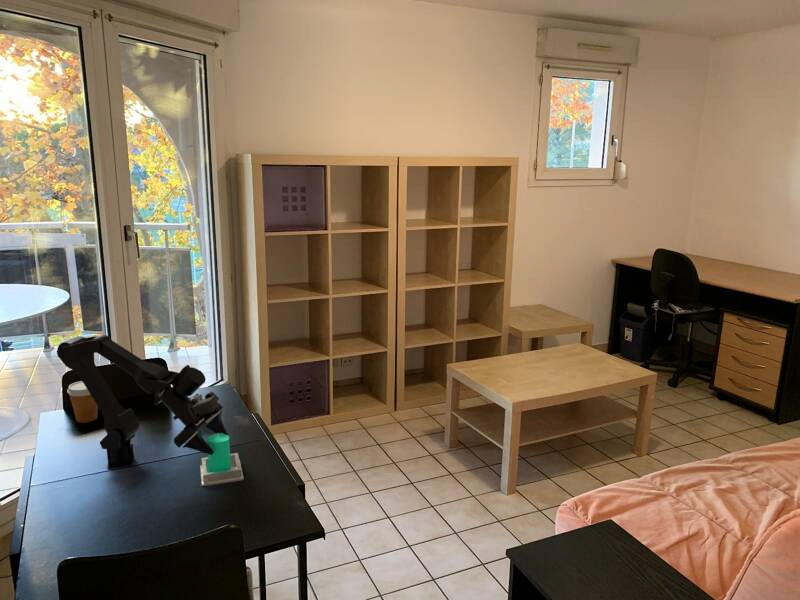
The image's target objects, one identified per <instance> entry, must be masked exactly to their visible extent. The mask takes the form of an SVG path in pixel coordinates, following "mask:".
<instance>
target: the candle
mask: <svg viewBox="0 0 800 600" xmlns="http://www.w3.org/2000/svg"><path fill="white" fill-rule="evenodd" d="M206 442H207V444H208V445H209V446H210V447H211V448H212V450H213V451H214V453H213V454H212V455H209V454H207V457H208V463H209V473H210V472H217V471H223V470H230V469H231V463H230V454H231V450H230V448H231V447H230V435H229V434H228V435H225V434H222V433H218V434H216V433H214V434H212V435H210V436H209V437H208V438H207V439H206Z"/></svg>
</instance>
